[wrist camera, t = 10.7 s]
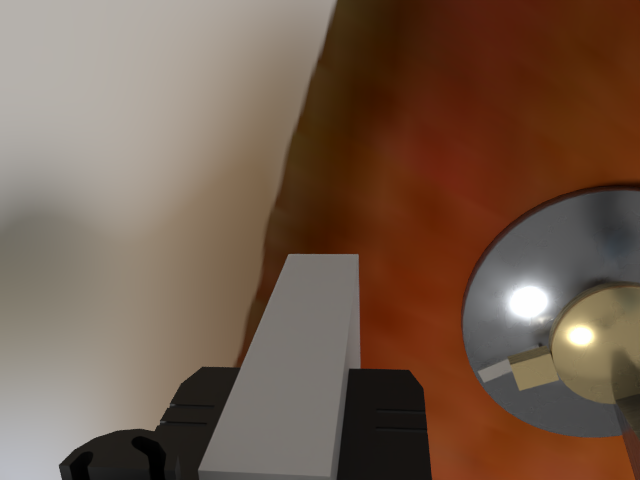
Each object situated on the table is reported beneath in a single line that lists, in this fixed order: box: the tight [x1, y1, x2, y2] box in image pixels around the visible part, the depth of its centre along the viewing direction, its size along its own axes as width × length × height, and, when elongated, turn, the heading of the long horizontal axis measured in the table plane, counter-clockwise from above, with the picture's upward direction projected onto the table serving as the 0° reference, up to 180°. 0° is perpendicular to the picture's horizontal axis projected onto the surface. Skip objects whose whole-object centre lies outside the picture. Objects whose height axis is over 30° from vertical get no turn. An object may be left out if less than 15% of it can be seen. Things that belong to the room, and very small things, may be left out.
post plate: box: [461, 186, 640, 437], centre depth 38 cm, size 18×21×6 cm
